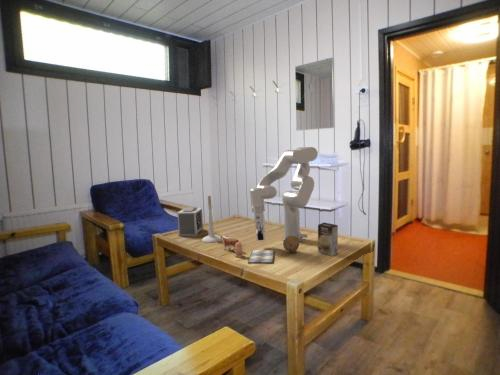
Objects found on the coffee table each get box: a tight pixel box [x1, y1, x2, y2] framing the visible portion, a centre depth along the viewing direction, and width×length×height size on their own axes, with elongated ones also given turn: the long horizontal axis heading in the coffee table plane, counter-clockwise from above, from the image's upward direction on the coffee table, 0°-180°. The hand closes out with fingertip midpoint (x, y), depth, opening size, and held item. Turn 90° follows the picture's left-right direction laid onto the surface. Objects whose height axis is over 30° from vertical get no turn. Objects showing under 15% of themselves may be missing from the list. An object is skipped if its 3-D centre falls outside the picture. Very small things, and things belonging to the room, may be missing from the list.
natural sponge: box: [282, 235, 300, 254], centre depth 171 cm, size 9×9×10 cm
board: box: [247, 249, 275, 264], centre depth 167 cm, size 13×18×1 cm
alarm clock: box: [177, 207, 204, 237], centre depth 222 cm, size 18×13×18 cm
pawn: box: [234, 241, 244, 258], centre depth 170 cm, size 5×5×8 cm
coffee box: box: [317, 222, 339, 257], centre depth 168 cm, size 9×6×16 cm
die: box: [255, 228, 267, 241], centre depth 182 cm, size 5×5×5 cm
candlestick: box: [201, 195, 222, 244], centre depth 201 cm, size 13×13×30 cm
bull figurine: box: [220, 234, 240, 253], centre depth 181 cm, size 4×13×8 cm, turn 51°
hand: (261, 237), depth 182 cm, fingers closed on die, 5 cm apart
